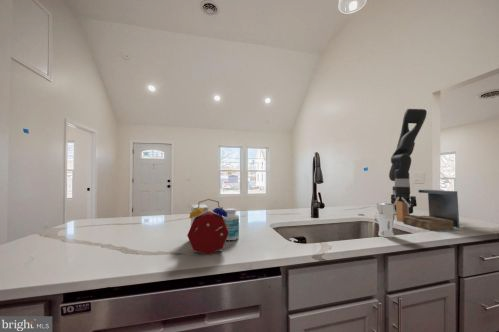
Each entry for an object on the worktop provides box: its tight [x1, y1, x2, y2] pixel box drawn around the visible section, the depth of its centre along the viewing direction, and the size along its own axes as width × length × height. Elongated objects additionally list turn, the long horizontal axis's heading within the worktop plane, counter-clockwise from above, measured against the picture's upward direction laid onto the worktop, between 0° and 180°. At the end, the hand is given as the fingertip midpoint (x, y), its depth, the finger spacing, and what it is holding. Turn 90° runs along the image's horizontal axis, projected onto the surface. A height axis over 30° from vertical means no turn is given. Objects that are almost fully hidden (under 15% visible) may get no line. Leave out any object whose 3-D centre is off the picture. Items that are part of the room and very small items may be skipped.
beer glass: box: [376, 202, 395, 239], centre depth 94 cm, size 7×7×15 cm
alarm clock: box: [187, 198, 228, 255], centre depth 74 cm, size 15×9×20 cm, turn 98°
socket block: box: [403, 215, 455, 231], centre depth 111 cm, size 14×16×4 cm
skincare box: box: [190, 203, 209, 226], centre depth 88 cm, size 8×7×16 cm
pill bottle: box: [223, 207, 240, 242], centre depth 91 cm, size 8×7×14 cm
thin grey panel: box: [418, 189, 460, 229], centre depth 113 cm, size 14×8×20 cm, turn 12°
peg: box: [395, 201, 409, 223], centre depth 123 cm, size 4×4×12 cm
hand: (403, 212), depth 123 cm, fingers open, 8 cm apart
